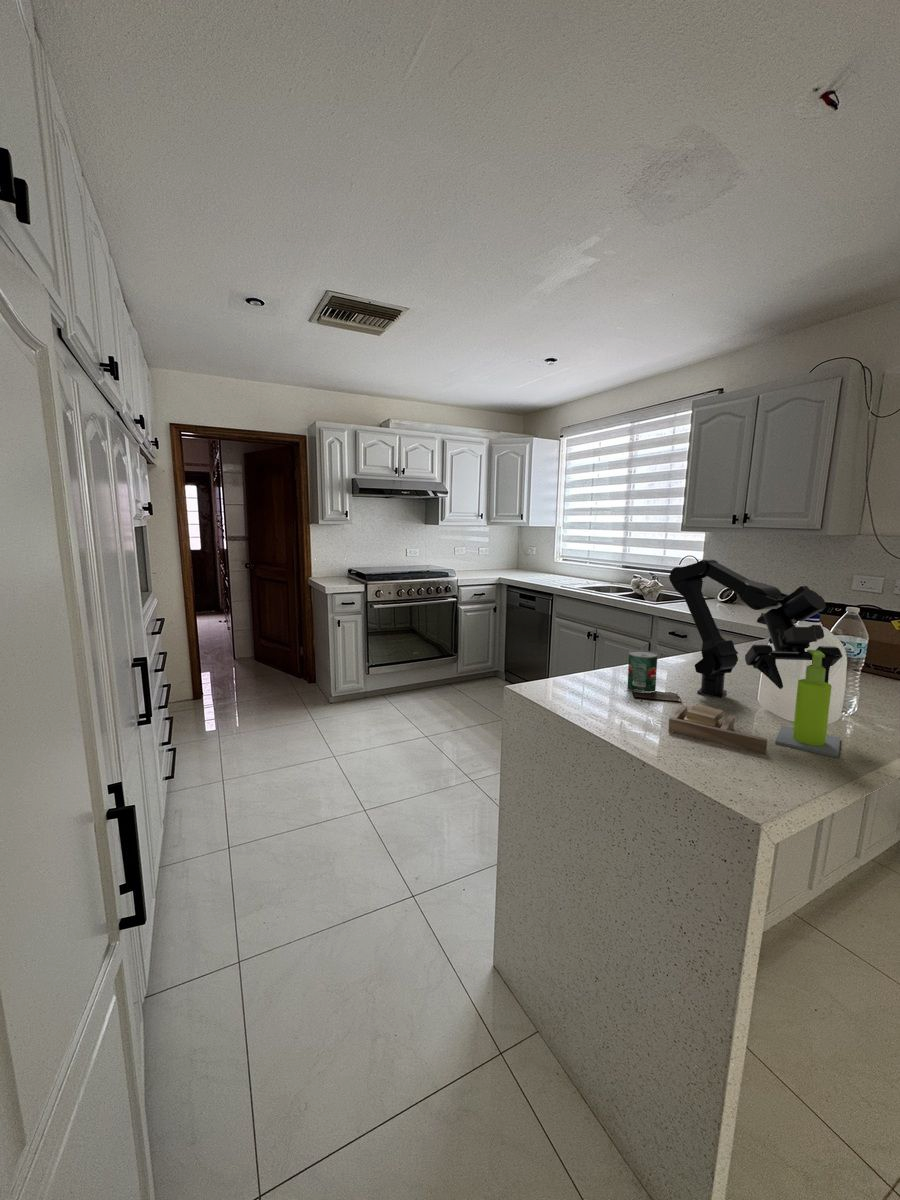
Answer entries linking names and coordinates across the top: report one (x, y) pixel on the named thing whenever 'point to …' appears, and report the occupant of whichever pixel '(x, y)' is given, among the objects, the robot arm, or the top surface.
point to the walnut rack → (716, 732)
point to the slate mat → (827, 749)
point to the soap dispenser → (812, 704)
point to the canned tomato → (642, 670)
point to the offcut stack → (705, 716)
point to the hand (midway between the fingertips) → (803, 688)
